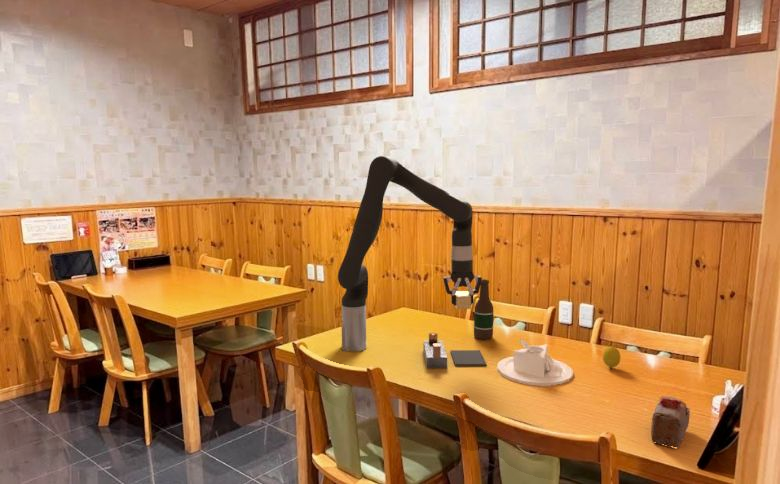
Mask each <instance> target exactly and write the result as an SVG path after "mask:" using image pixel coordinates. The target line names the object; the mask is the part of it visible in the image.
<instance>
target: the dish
mask: <svg viewBox="0 0 780 484" xmlns="http://www.w3.org/2000/svg"><path fill="white" fill-rule="evenodd" d="M519 342H520V344H521V346H523V347H524V348H521V349H515V350H513V356H508V357H505V358H503V359H501V360H500V361H498V362H497V372H498V373H499V374H500V375H501V377H504V378H506V379H508V380H509V381H513V382H516V383H519V384H522V385H528V386H537V387H539V386H540V387H551V385H553V386H558V385H557V384H560V385H563V384H562V383H564V382H566V383H567V381H568V382H570V381H571V380H572V379H573V377H574V372H573V369H572V368H571V367H570V366H569V365H568V364H566V363H565V362H562V361H559V360H557V359H554V358H552V357H551V356H550V355H548V343H545V344H541V345H535V344H533V345H529V343H528V342H527V341H525V339H519ZM571 378H572V379H571ZM570 379H571V380H570ZM569 380H570V381H569ZM564 384H565V383H564Z"/></svg>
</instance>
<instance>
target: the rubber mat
mask: <svg viewBox="0 0 780 484" xmlns="http://www.w3.org/2000/svg"><path fill="white" fill-rule="evenodd" d="M449 353H450V355H451V358H452V361H453V365H454V366H455V367H487V365H488V364H487V362H486V360H485V358H484V356H483V354H482V352H481V350H479V349H478V350H477V349H475V350H474V349H472V350H470V349H469V350H468V349H467V350H466V349H465V350H463V349H461V350H460V349H459V350H457V349H455V350H452V349H451V350H450V352H449Z"/></svg>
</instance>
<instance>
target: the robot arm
mask: <svg viewBox="0 0 780 484" xmlns="http://www.w3.org/2000/svg"><path fill="white" fill-rule="evenodd" d="M368 168H369V169H368V173H367V178H366V179H367V180H366V184H365V189H364V193H363V196H362V199H361V201H360V205H359V208H358V211H357V214H356V216H355V221H354V224H353V227H352V232H351V236H350V239H349V241H348V246H347V249H346V253H345V255H344V257H343V261H342V262H341V264H340V267H339V269H338V273H337V281H338V284H339V285H340V287H341V288H343V289H345V292H344V294H343V296H342V297H341V351H346V352H351V353H352V352H361V351H364V350H366V349H367V299H368V295H369V272H368V269H367V267H366V265H365V264H363V262H364V259H365V257H366V256H367V255H366V254H367V253H368V251H369V249H370V248H371V247H372V245H373V243H374V242H375V241H376V239H377V236H378V234H379V230H380V226H381V224H382V220H383V214H384V213H383V212H384V197H385V194H386V191H387V188H388V186H389V183H390V182H391V183H393V184H396V185H397V186H398V185H399V187H400V186H401V187H402V188H404V189H406V190H407V191H408V192H410V193H412V195H414V196H415V197H416V198H417V199H419V200H420V201H422V202H423V203H425V204H427V205H429V206H430V207H432V208H434V209H436V210H438V211H440V212H441V213H443V214H444V215H445V216H446V217H448V218H450V219H451V220H453V222H452V223H453V224H452V225H453V229H452V231H451V251H450V254H451V255H450V260H451V261H450V263H451V272H450V275H449V276H443V277H442V281H443V285H444V287H445V292H446V294H447V295H451V296H450V297H451V298H450V299H451V301H450V302H451V304H452V305H453V306H454V307H455V306H456V296H455V294H456V291H458V289H459V288H460V287H466V288H467V291H468V292H469V294H470V296H471V306H472V305H473V304H474V295H475V294H480V285H481V280H483V279H482V276H481V275H475V273H474V260H473V259H474V251H473V234H472V229H473V228H472V227H473V218H474V217H473V216H474V215H473V214H474V213H473V212H474V211H473V208H472V207H473V206H472V205H471V204H470V203H469V202H468V201H466V200H460V199H458V198H456V197H455V196H453V195H450V193H449V192H448V191H446V190H444V189H442V188H441V187H439V186H437V185H436V184H434V183H431V182H430V181H428V180H426V179H424V178H422V177H420V176H419V175H417V174H415V173H414V172H412V171H410V170H409V169H408V168H406V167H405V166H404V165H403V164H401V163H400V162H399V161H398V160H397V159H395V158H393V156H390V155H380V156H377V157H375V158H374V159H373V160H372V161H371V163H370V164H369V167H368ZM473 280H474V282H475V286H474V289H473V288H472V285H471V283H472V282H473ZM450 281H452V282H453V286H452V289H451V290H450V286H449V283H450Z"/></svg>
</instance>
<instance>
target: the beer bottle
mask: <svg viewBox="0 0 780 484" xmlns="http://www.w3.org/2000/svg"><path fill="white" fill-rule="evenodd" d="M489 285H490V281H489V279H482V280H481V285H480V289H479V297H478V299H477V302H476V303H475V305H474V311H473V313H474V314H473V316H474V317H473V337H474V338H475V339H476V340H479V341H480V340H481V341H490V340H492V338H493V336H494V305H493V302H492V301H491V299H490V290H489V289H490V288H489Z"/></svg>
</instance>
